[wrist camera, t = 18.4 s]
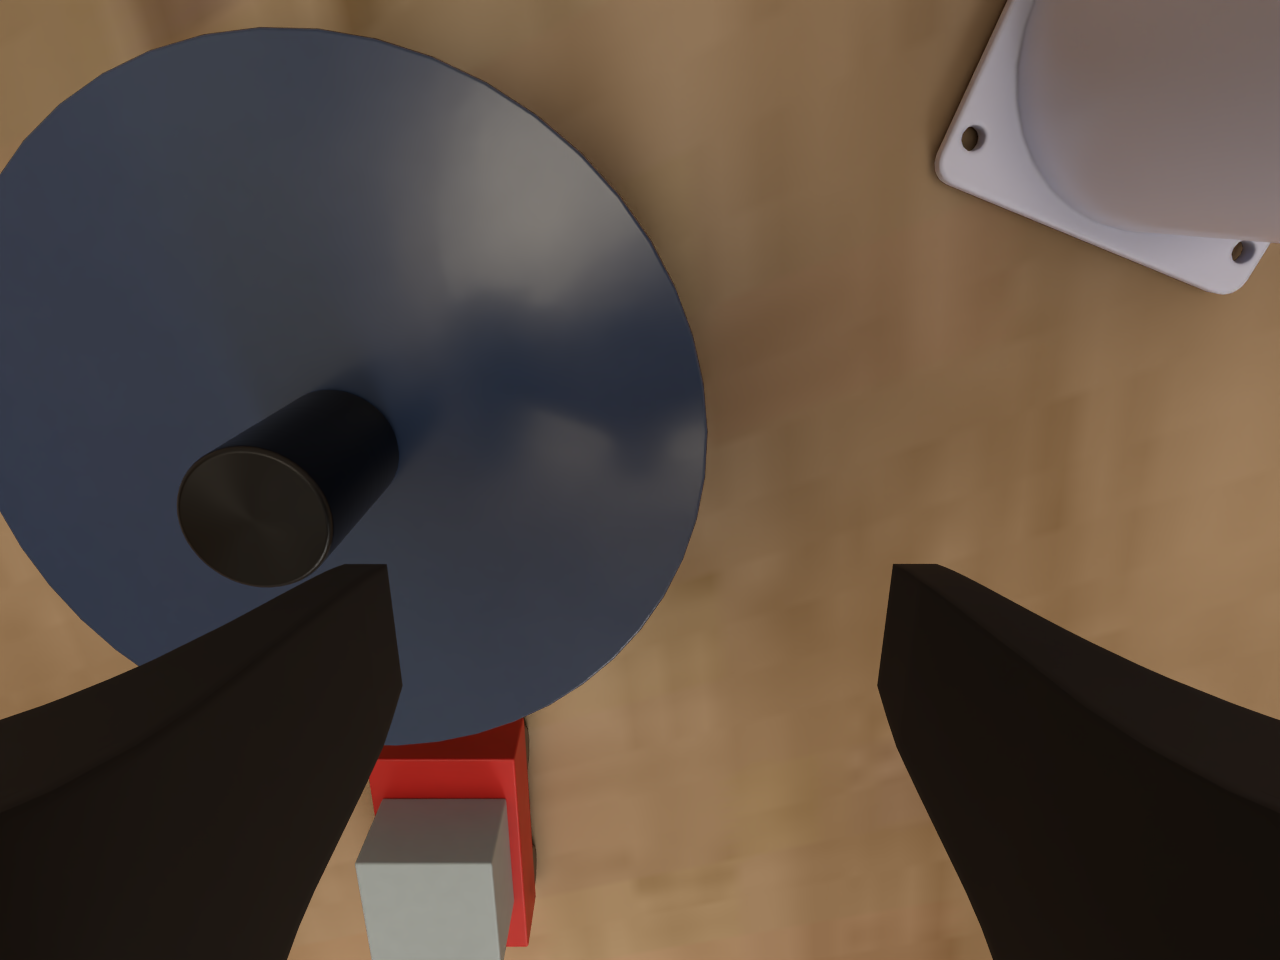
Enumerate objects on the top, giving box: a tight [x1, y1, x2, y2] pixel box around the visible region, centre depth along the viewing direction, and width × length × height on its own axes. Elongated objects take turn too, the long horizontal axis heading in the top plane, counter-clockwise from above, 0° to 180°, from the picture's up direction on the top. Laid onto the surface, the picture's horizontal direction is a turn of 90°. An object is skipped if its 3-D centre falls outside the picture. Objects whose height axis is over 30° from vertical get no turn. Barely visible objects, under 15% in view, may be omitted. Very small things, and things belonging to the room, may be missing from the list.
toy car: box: [355, 718, 536, 960], centre depth 22 cm, size 7×4×5 cm, turn 0°
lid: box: [0, 27, 708, 746], centre depth 14 cm, size 15×15×5 cm
